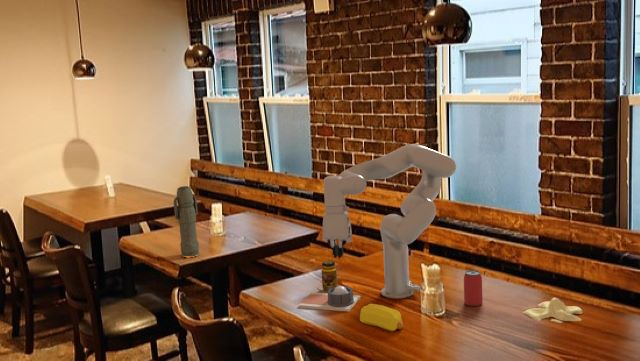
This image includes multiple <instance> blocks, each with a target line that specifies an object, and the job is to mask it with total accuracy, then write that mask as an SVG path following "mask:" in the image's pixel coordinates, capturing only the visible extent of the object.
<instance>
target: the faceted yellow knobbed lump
mask: <svg viewBox="0 0 640 361" xmlns="http://www.w3.org/2000/svg"><path fill="white" fill-rule="evenodd" d="M402 318H403V317H402V315H401V313H400V311H398V310H397V309H395V308H391V307H388V306H386V305H382V304H376V303H369V304H366V305H364V306H362V308H361V309H360V313H359V321H360V322H361V323H363V324H365V325H369V326H374V327H377V328H381V329H384V330H387V331H390V332H393V331H396V330H401V329H402V328H403V327H404V323H403V319H402Z"/></svg>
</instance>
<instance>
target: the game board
mask: <svg viewBox="0 0 640 361" xmlns="http://www.w3.org/2000/svg"><path fill="white" fill-rule="evenodd" d="M344 287H345V288H346V290H347V291H349V293H346V294H341V295H340V294H332V292H333V291H334V289H335V288H336V287H334V288H330V289H329V290H328V293H323V292H313V291H312V292H311V293H310V294H308V296H306V297H305V298H304V299H303V300H302V301H301V302H300V303H299V304H298V308H300V309H313V310H323V311H324V310H325V311H334V312H335V311H337V312H350V311H351V309H352V308H353V307H354V306H355V305H356V303H357V302H358V301H359V300H360V299H361V295H357V294H356V295H354V289H353V288H351V287H350V286H344Z"/></svg>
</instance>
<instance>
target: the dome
mask: <svg viewBox="0 0 640 361" xmlns="http://www.w3.org/2000/svg"><path fill="white" fill-rule="evenodd" d="M337 286H338V287H336V288H335V289H334V291H333V292H332V294H340V295H341V294H346V293H349V291H347V290H346V288H345V287H346V286H343V285H337Z"/></svg>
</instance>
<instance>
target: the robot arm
mask: <svg viewBox="0 0 640 361" xmlns="http://www.w3.org/2000/svg"><path fill="white" fill-rule="evenodd" d="M410 168H416V169H420V170H422V173H421V174H422V175H421V179H420V181H419V182H418V183H417V185H416V186H415V187H414V189H412V190H411V192H410V193H409V194H408V195H407V196H406V197H405V198H404V199H403V200H402V202H401V205H400V212H401V213H402V214H403V216H402V215H399V214H396V213H390V214H387V215H385V216H384V217H383V218H382V220H381V221H380V228H379V230H380V236H381V241H382V247H383V248H382V250H383V252H382V253H383V271H384V272H383V273H384V287H383V288H382V289H381V295H382V296H383V297H385V298H388V299H406V298H409V297H411V296H413V295H414V292H420V291H421V286H420V285H419V284H413V283H412V280H410V270H409V269H410V268H409V247H408V245H411V244H412V243H413V242H414V241H416V239H418V238H419V237H420V235H421V234H422V233H424V231H425V230H426V229H427V228H428V227H429V226H430V224H431V223H432V222H433V221H434V219H435V217H436V214H437V206H436V204H435V203H434V200H435V199H436V198H437V196H438V195H439V193H440V192H441V188H442V179H447V178H451V177H452V176H453V175H454V174H455V173H456V170H457V164H456V161H455V160H454V159H453V158H452V157H451V156H449V155H447V154H444V153H441V152H439V151H437V150H434V149H431V148H428V147H426V146H424V145H419V144H414V143H411V144H410V143H409V144H406V145H403V146H401V147H399V148H397V149H395V150H393V151H391V152H389V153H386V154H385V155H382V156H379V157H378V158H374V159H370V160H367V161H364V162H361V163H358V164H355V165H354V166H352V167H349V168H347V169H345V170H343V171H342V172H341V173H340V174H339V175H328V176H326V177H324V179H323V195H324V198H323V199H324V213H323V217H322V218H323V219H322V241H323V242H325V243H328V245H329V246H330V247H331V248H332V256H333V258H334V259H336V258H337V257H338V259H341V258H342V257H343V256H344V246H345V245H346V244H348V243H351V242H352V241H353V238H352V224H351V219H350V215H349V212H348V211H350V206H347V205H346V195H351V196H354V195H360V194H362V193H363V192H364V191H366V188H367V182H368V181H372V180H373V181H374V180H384V179H391V178H392V177H394V176H397V175H398V174H400V173H402V172H405V171H407V170H408V169H410ZM404 216H405V217H404ZM337 240H338V245H337Z"/></svg>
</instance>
